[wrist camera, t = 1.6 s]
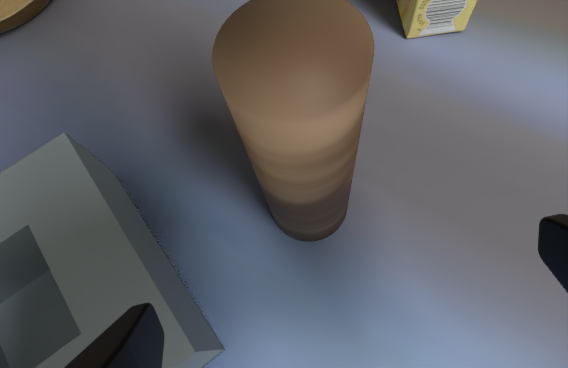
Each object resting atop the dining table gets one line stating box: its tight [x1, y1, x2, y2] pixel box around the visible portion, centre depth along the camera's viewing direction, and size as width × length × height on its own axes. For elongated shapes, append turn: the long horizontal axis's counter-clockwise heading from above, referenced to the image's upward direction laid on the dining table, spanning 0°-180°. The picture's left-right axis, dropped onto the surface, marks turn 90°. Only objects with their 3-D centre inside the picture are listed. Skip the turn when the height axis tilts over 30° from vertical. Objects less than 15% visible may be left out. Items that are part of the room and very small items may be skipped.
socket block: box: [0, 132, 225, 368], centre depth 19 cm, size 13×13×5 cm
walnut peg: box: [212, 0, 374, 241], centre depth 16 cm, size 4×4×13 cm
